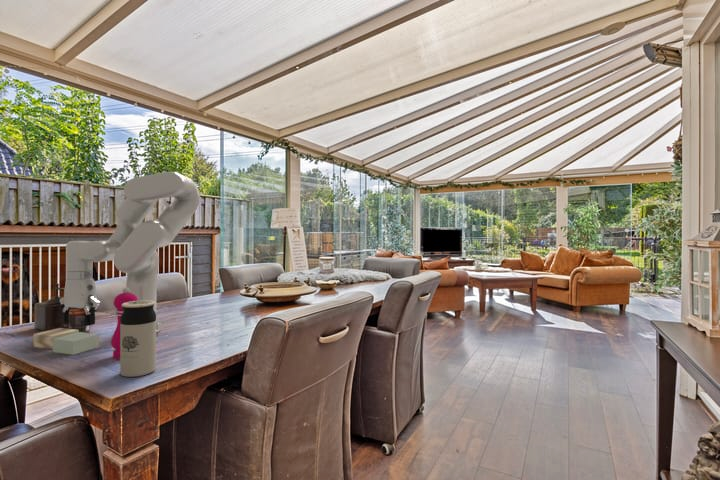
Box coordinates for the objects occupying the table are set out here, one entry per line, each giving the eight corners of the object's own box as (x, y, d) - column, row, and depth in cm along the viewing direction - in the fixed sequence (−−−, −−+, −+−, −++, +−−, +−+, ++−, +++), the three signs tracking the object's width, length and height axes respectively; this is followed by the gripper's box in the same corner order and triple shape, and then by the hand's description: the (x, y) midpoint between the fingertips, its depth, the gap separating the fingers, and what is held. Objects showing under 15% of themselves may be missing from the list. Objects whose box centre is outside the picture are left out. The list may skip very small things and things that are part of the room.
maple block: (78, 342, 123) (78, 329, 123) (52, 349, 115) (52, 336, 115) (60, 339, 125) (60, 327, 125) (33, 346, 117) (33, 333, 117)
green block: (98, 346, 118) (98, 334, 118) (73, 354, 110) (73, 341, 110) (79, 344, 120) (79, 332, 120) (53, 352, 112) (53, 338, 112)
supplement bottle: (93, 332, 134) (93, 300, 134) (75, 336, 129) (75, 303, 129) (83, 330, 137) (83, 299, 137) (65, 334, 132) (65, 302, 131)
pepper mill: (118, 361, 105) (119, 290, 104) (106, 356, 109) (106, 287, 108) (145, 354, 111) (145, 287, 111) (132, 350, 115) (132, 285, 114)
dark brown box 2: (46, 332, 133) (46, 282, 133) (33, 328, 139) (33, 279, 139) (95, 323, 147) (95, 278, 146) (81, 320, 152) (81, 276, 152)
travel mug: (139, 365, 102) (139, 299, 102) (162, 368, 100) (163, 301, 100) (112, 375, 95) (112, 304, 94) (137, 379, 92) (137, 306, 92)
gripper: (108, 275, 134) (108, 323, 134) (71, 273, 139) (71, 319, 139) (88, 278, 127) (88, 328, 127) (50, 275, 131) (50, 324, 132)
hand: (79, 323), depth 133 cm, fingers open, 9 cm apart
